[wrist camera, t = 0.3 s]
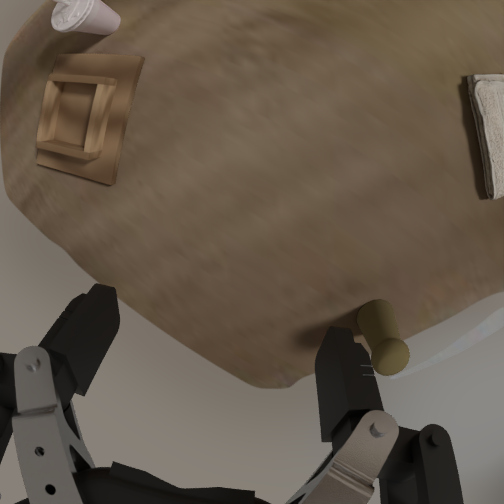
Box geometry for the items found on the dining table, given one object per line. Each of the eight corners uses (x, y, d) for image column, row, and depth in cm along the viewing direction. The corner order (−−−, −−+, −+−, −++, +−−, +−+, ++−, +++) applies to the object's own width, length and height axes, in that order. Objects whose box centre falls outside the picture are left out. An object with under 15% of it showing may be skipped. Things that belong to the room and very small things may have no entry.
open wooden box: (62, 54, 30) (44, 52, 26) (145, 58, 30) (129, 52, 26) (41, 162, 37) (24, 167, 34) (115, 183, 38) (98, 190, 34)
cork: (349, 325, 43) (361, 377, 33) (368, 294, 40) (388, 343, 30) (380, 335, 43) (397, 385, 33) (400, 306, 40) (424, 353, 30)
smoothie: (131, 1, 27) (73, -32, 14) (126, 38, 29) (61, 14, 16) (95, 12, 27) (33, -11, 14) (89, 47, 30) (23, 33, 17)
